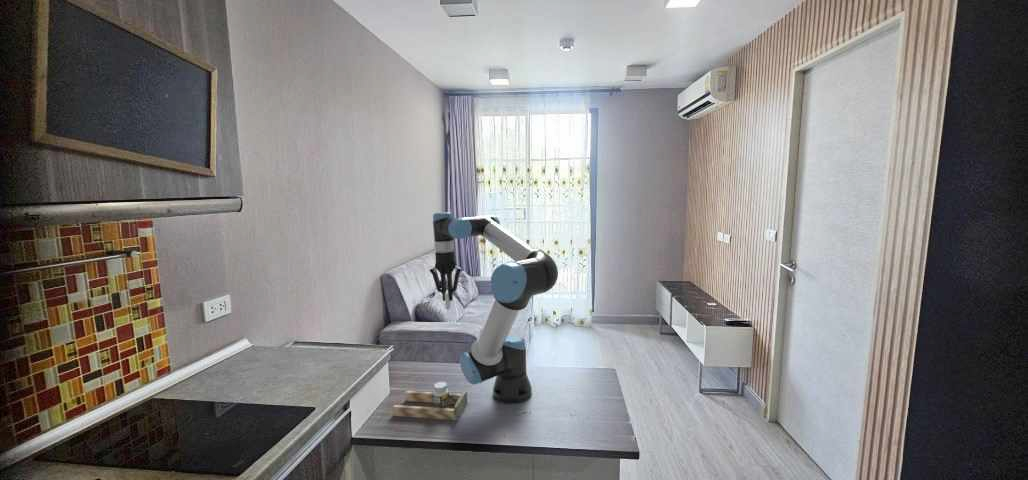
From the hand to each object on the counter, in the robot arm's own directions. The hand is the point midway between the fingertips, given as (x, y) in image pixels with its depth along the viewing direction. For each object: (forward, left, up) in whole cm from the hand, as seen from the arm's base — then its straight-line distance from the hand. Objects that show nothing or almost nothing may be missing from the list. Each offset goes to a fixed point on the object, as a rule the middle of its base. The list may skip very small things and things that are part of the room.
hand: (448, 308), depth 162 cm
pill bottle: (-2, +20, -33) cm, 38 cm away
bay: (+2, +20, -33) cm, 38 cm away
